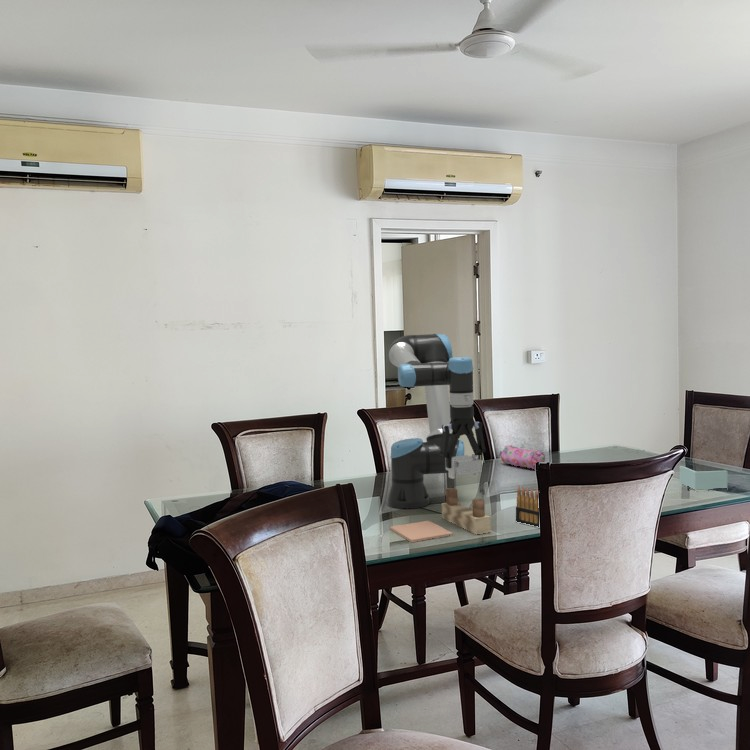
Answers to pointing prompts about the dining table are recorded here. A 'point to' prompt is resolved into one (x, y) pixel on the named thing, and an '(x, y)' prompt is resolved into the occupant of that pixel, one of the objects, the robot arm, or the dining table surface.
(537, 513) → the ammunition clip
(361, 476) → the dining table surface
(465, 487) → the dining table surface
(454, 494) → the wooden peg stand
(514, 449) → the pencil case
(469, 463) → the brushed metal block
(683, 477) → the l-shaped corner panel
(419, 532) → the mat
